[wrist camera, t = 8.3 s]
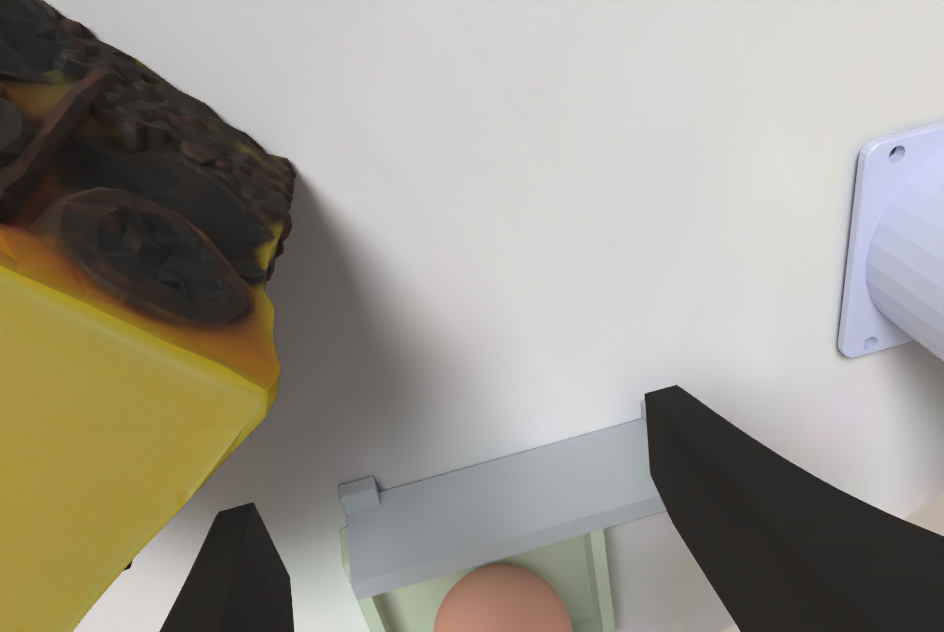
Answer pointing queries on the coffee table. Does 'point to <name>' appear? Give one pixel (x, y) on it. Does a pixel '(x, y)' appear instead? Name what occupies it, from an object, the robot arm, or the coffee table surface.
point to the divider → (497, 508)
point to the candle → (118, 308)
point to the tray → (561, 564)
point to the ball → (502, 603)
